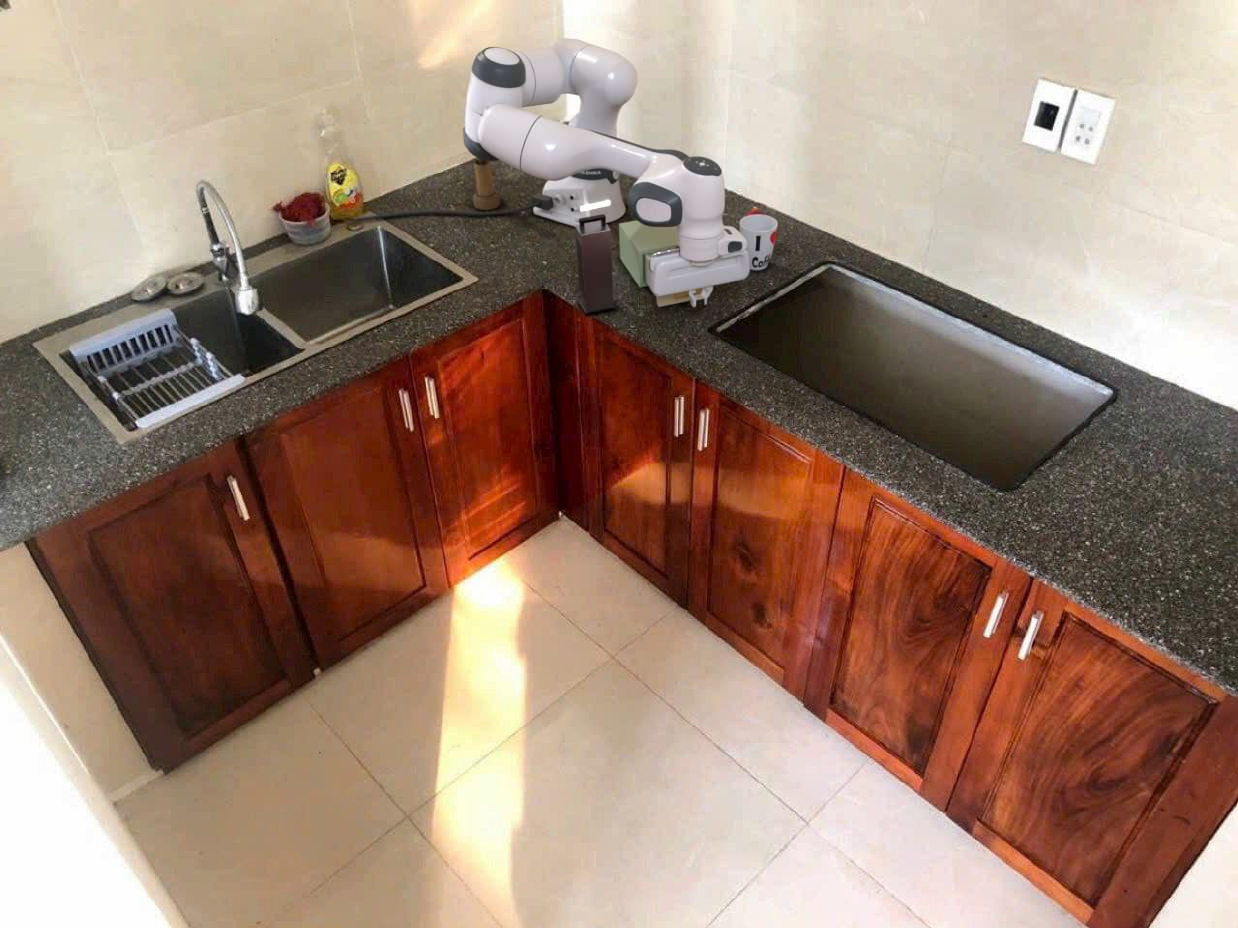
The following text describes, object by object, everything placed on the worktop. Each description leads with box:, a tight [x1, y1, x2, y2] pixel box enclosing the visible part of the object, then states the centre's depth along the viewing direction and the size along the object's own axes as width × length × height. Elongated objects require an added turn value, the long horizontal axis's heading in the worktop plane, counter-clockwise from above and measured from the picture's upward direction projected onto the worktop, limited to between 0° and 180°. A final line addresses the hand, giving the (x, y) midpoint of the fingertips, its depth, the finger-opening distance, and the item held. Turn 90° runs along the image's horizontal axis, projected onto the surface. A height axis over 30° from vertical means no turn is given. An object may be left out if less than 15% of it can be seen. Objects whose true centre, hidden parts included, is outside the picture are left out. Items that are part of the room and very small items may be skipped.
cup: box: [739, 214, 778, 271], centre depth 217 cm, size 8×8×10 cm
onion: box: [744, 205, 766, 217], centre depth 227 cm, size 6×6×8 cm
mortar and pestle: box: [472, 158, 501, 211], centre depth 241 cm, size 7×6×18 cm
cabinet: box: [618, 220, 677, 288], centre depth 218 cm, size 14×13×9 cm
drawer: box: [643, 252, 711, 308], centre depth 208 cm, size 17×11×7 cm
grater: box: [574, 214, 616, 317], centre depth 202 cm, size 5×6×20 cm
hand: (698, 304), depth 200 cm, fingers closed
